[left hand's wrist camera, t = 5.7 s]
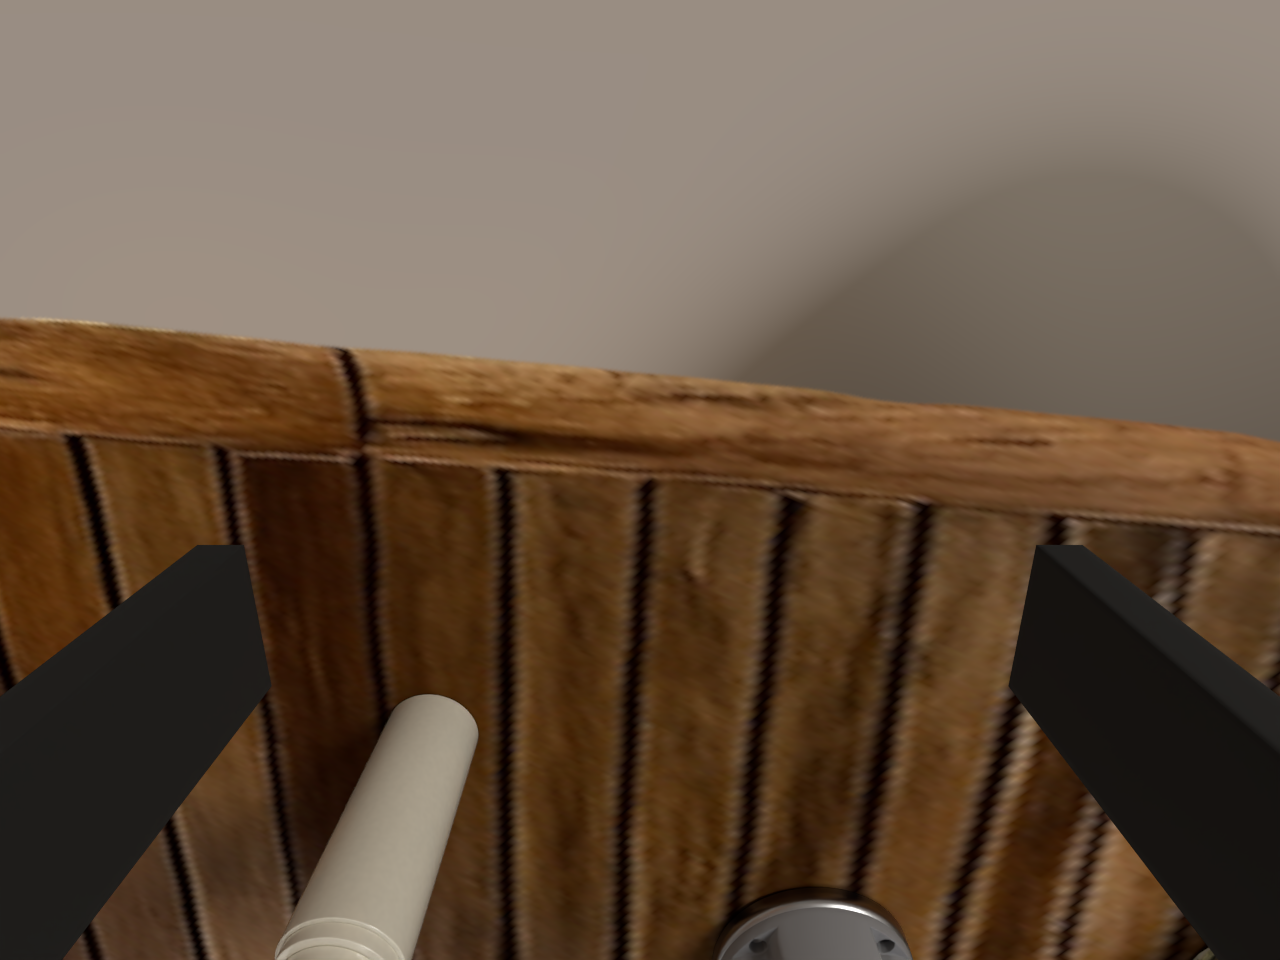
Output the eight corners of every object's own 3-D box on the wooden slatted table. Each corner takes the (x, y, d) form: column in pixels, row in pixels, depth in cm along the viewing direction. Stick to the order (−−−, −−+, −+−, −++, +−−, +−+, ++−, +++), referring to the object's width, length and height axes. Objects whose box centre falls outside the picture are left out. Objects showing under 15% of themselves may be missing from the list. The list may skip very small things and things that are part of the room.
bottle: (471, 691, 51) (341, 1063, 29) (484, 766, 53) (374, 1166, 31) (379, 696, 51) (180, 1071, 29) (396, 771, 53) (223, 1173, 31)
